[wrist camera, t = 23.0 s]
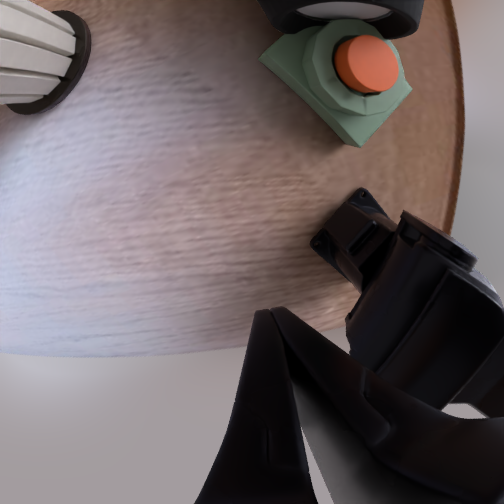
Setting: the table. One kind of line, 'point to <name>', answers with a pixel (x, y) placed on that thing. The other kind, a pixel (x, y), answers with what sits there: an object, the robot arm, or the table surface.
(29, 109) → the stand
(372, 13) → the portable speaker
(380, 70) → the button
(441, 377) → the robot arm
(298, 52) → the button block
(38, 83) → the white fluted hollow cylinder
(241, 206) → the table surface
